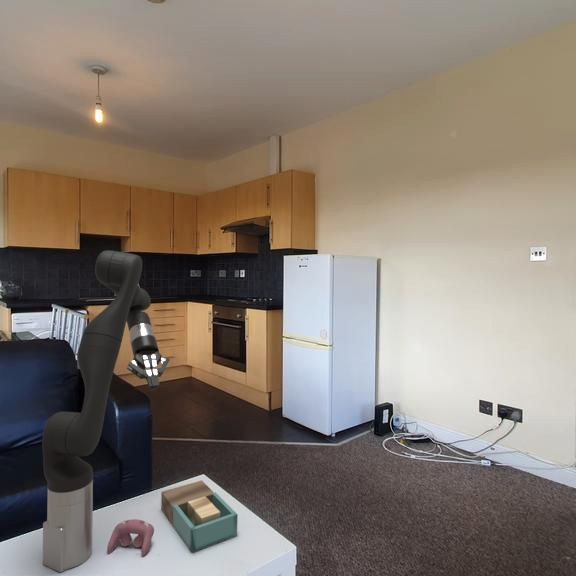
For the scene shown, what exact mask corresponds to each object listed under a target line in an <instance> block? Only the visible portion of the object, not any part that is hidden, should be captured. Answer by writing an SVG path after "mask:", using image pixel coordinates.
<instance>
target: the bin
mask: <svg viewBox="0 0 576 576" xmlns="http://www.w3.org/2000/svg"><path fill="white" fill-rule="evenodd" d="M212 504H213V505H214V506H215V507H216V508H217V509H218V510H219V511H220V518H218V519H215V520H213V521H210V522H207V523H204V524H201V525H198V526H195V527H194V525H193V524H192V523H191V522H190V520H189V519H188V518H187V516H186V515H185V514H184V513H183V511H182V510H181V509H180V508H179V506H178V505H177V504H176V505H173V526H172V527H173V529H174V530H175V532H176V533H177V534H178V536H179V538H180V539H181V540H182V542H183V543H184V545H185V546H186V547H187V548H188V550H189V552H190V553H191V554H194V553H196V552H199V551H202V550H204V549H207V548H209V547H212V546H215V545H217V544H219V543H223V542H225V541H227V540H230V539H233V538H235V537H237V536H238V513H237V512H236V511H235V510H234V509H233V508H232V507H231V506H230V505H229V504H228V503H227V502H226V501H225V500H224V499H223V498H222V497H221V496H220V495H219V494H218V493H217V492H216V491H215V492H214V493H212Z"/></svg>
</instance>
